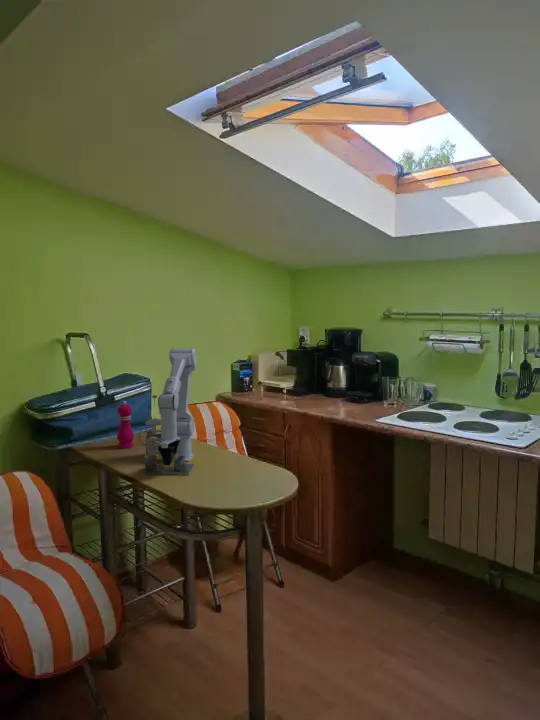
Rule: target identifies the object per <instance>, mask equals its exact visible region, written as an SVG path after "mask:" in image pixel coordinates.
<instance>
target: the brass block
mask: <svg viewBox="0 0 540 720" xmlns="http://www.w3.org/2000/svg"><path fill="white" fill-rule="evenodd" d="M176 460H177V453H172V456H171V464H170V465H164V469H168V470H175V461H176Z"/></svg>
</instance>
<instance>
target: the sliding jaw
mask: <svg viewBox="0 0 540 720" xmlns="http://www.w3.org/2000/svg"><path fill="white" fill-rule="evenodd" d="M158 458H159V455H158V454H155V455H151V456H150V457H149V458H148V459H147V458H146V459H145V460H144V461H145V462H144V465H145V466H144V467H145V468H144V469H145V470H152V468H153V467H154V466H155V465H156V463H157V460H159V459H158Z"/></svg>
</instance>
